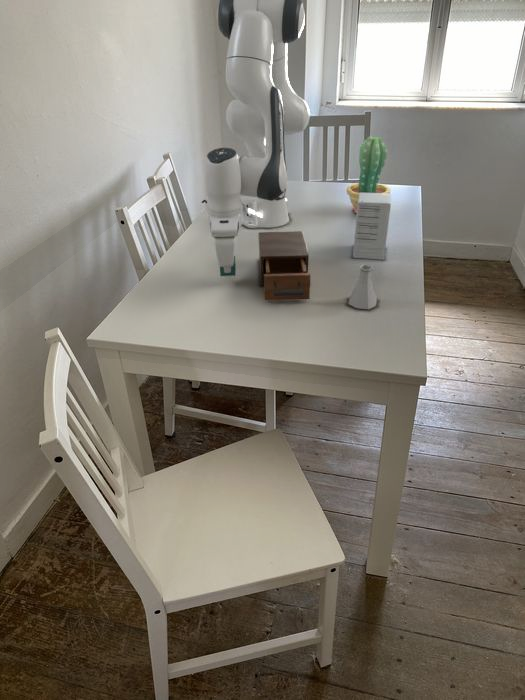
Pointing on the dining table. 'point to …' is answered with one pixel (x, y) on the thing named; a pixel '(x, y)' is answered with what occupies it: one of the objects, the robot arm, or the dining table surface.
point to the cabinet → (281, 248)
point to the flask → (363, 290)
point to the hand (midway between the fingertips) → (227, 267)
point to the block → (232, 273)
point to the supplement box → (371, 225)
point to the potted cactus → (369, 170)
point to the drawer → (286, 279)
